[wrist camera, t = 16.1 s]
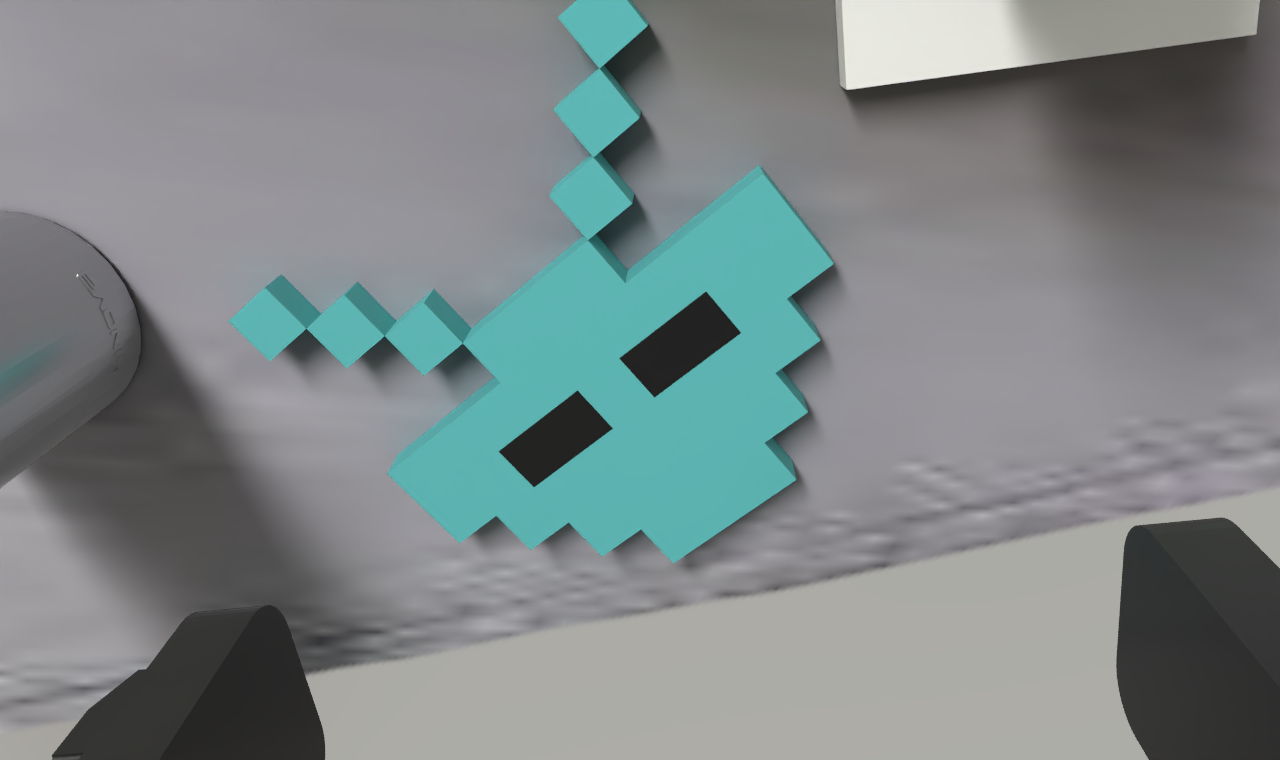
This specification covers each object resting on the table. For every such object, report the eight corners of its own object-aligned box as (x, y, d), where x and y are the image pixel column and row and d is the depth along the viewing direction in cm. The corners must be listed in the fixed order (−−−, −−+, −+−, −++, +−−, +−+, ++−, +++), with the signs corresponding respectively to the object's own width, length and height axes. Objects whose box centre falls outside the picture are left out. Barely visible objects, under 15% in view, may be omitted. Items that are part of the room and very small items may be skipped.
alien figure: (250, 303, 41) (565, 610, 46) (228, 321, 39) (560, 639, 44) (610, -28, 35) (918, 366, 41) (605, -27, 33) (931, 388, 39)
